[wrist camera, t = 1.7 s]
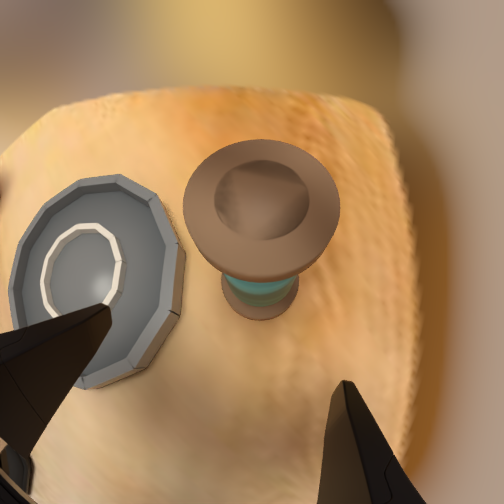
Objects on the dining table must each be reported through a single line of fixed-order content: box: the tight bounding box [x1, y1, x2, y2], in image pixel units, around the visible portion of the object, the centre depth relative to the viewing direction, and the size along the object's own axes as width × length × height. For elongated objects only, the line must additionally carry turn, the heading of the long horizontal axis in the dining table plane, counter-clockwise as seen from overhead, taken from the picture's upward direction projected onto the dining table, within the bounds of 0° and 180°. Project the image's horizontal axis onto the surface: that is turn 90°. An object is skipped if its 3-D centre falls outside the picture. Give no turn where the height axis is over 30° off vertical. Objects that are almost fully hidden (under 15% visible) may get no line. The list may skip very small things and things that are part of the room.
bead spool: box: [183, 139, 340, 320], centre depth 16 cm, size 6×6×13 cm
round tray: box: [8, 174, 186, 390], centre depth 22 cm, size 20×20×2 cm
